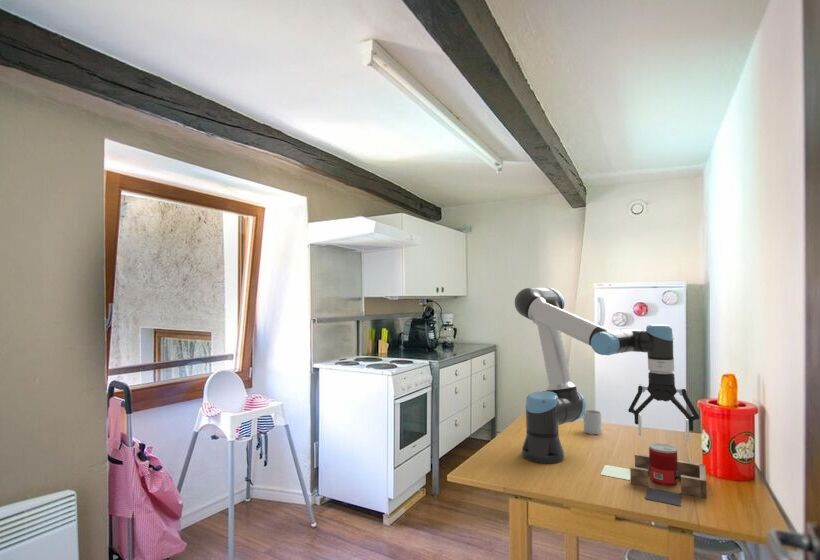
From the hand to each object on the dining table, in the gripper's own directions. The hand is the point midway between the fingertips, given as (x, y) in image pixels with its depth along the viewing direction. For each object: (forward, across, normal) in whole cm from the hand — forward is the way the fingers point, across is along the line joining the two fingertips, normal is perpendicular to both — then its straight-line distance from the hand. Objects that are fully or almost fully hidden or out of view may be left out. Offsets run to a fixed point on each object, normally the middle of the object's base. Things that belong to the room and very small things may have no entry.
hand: (663, 437), depth 148 cm
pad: (+14, -14, 0) cm, 20 cm away
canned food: (+14, 0, 0) cm, 14 cm away
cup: (+14, -30, +45) cm, 55 cm away
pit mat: (+14, 0, -13) cm, 19 cm away
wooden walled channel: (+14, +1, 0) cm, 14 cm away
